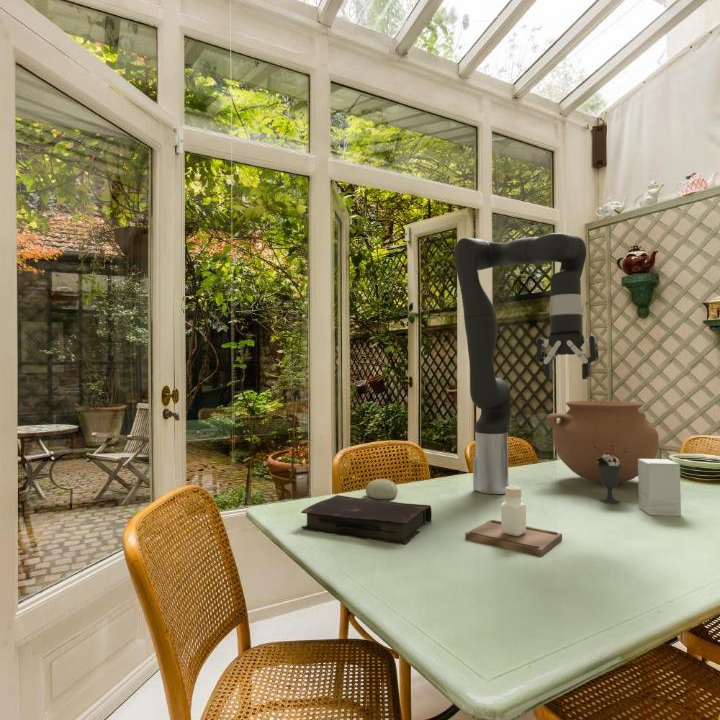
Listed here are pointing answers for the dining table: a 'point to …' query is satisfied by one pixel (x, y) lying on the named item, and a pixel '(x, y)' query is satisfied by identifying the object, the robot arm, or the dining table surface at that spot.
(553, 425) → the clay pot
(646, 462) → the supplement box
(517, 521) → the salt shaker
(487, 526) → the walnut board
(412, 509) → the diary
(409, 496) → the dining table surface
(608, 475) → the sundae
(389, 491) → the sea urchin shell
